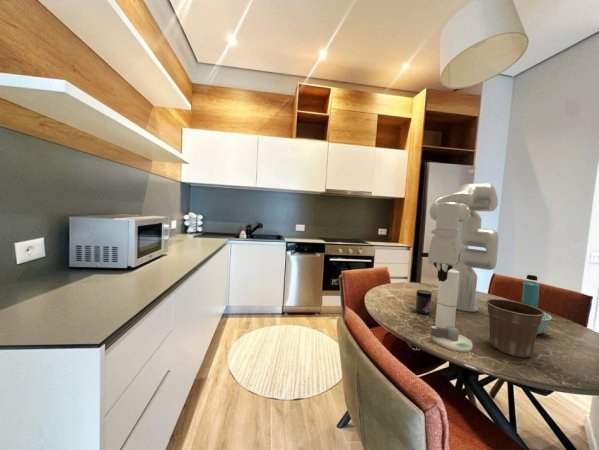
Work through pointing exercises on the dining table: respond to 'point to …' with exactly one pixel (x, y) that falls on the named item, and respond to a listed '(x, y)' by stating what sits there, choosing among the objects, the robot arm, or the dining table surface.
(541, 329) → the bowl
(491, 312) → the plant pot
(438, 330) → the friction peg
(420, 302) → the supplement container
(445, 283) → the cylindrical container
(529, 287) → the beverage bottle
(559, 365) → the dining table surface
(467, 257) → the robot arm
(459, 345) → the dial plate
